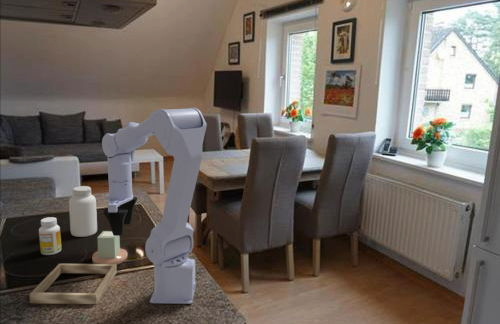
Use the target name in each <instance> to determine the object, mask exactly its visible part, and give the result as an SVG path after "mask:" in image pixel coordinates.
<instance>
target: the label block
mask: <svg viewBox="0 0 500 324" xmlns="http://www.w3.org/2000/svg"><path fill="white" fill-rule="evenodd" d="M120 237H121V236H114V235H113V233H112V230H111V231H110V230H102V232H101V233H100V234H99V235H98V236H97V238H96V240H97V251H98V258H116V256H117V255H118V254H119V252H120V248H121V244H120V241H121V240H120Z"/></svg>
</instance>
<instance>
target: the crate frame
mask: <svg viewBox="0 0 500 324" xmlns="http://www.w3.org/2000/svg"><path fill="white" fill-rule="evenodd" d="M117 265H118V264H117ZM117 265H116V264H94V263H58V264H57V265H56V267H54V269H52V270H51V271H50V272H49V274H47V276H46V277H45V278H44V279H43V280H42V281H40V282H39V284H38V285H37V286H36V287H35V288H34V289H33V290H32V291H30V293H29V304H54V305H55V304H59V305H61V304H62V305H66V304H68V305H97V304H98V303H99V301H100V300H101V298H102V296H103V295H104V293H105V291H106V290H107V289H108V287H109V286H110V284H111V282H112V281H113V279H114V277H115V276H116V274H117V272H118V271H117V267H118V266H117ZM62 274H101V275H102V274H104V275H105V276H104V277H103V279H102V280H101V282H100V284H99V285H98V287H97V288H96V289H95V291H94V292H46V291H47V289H49V288H50V286H51V285H52V284H53V283H54V282H55V281H56V280H57V279H58V277H60V275H62Z"/></svg>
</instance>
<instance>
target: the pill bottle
mask: <svg viewBox="0 0 500 324" xmlns="http://www.w3.org/2000/svg"><path fill="white" fill-rule="evenodd" d="M68 207H69V208H68V210H69V226H70V227H69V228H70V234H71V236H74V237H76V238H77V237H78V238H79V237H80V238H83V237H90V236H92V235H94V234H96V233H97V231H98V220H97V219H98V217H97V216H98V215H97V214H98V213H97V198H96V197H95V196H94V195H93V194H92V188H91V187H90V186H87V185H82V186H76V187H73V189H72V196H70V198H69V200H68Z"/></svg>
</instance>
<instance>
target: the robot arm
mask: <svg viewBox="0 0 500 324" xmlns="http://www.w3.org/2000/svg"><path fill="white" fill-rule="evenodd" d="M207 125H208V124H207V122H206V120H205V118H204V116H203V113H202V111H200V109H198V108H197V107H188V108H174V109H173V108H171V109H170V108H169V109H165V108H158V109H156V110H155V111H151V113H150V116H149V117H147V118H146V119H145V120H144V121H142V122H141V123H137V122H134V121H131V122H127V123H126V126H125V127H123V128H119V129H118V130H117V132H115V133H105V134H104V135H103V137H102V139H101V147H102V152H103V153H104V155H105V156H106V157H107V175H108V177H107V178H108V194H106V195H104V200H108V204H107V207H106V208H104V209H103V211H102V212H103V213H102V214H103V215H104V216H105V219H106V220H107V221H108V223H109V226H110V229H111V231H112V233H113V235H114V236H119V237H121V236H123V233H124V225H131V222H132V217H133V213H134V209H135V205H136V202H137V201H138V197H137V196H134V195H133V177H132V175H133V174H132V173H133V172H132V162H133V161H134V154H135V151H136V149H139V148H141V147H143V146H145V145H146V143H147V142H148V139H149V138H150V137H152V136H155V138H156V139H157V141H158V142H159V144H160V145H161V146H162V148H163V149H164V151H165V152H166V154H168V155H170V156H172V157H173V164H172V168H171V174H170V178H169V182H168V189H167V191H166V192H167V193H166V198H165V203H164V206H163V207H164V208H163V213H162V214H163V215H162V216H161V217H162V218H161V221H159V223H158V224H156V225H155V226H154V227H153V228H152V229H151V231H150V235H149V237H148V238H147V240H146V241H145V246H144V248H145V249H144V251H145V254H146V257H147V259H148V260H149V261H150V262H151V263H152V264H153V268H154V269H153V271H154V273H153V274H154V275H153V277H154V279H153V281H154V290H153V291H152V295H151V297H150V300H149V303H150V304H176V305H177V304H180V305H181V304H184V305H185V304H188V305H189V304H192V303H193V301H194V300H193V299H194V296H195V291H196V287H197V282H196V259H193V258H189V254H190V253H191V252H192V251H193V248H194V231H195V229H194V228H193V226H192V225H191V224H190V223H189V222H188V218H189V215H190V210H191V206H192V202H193V199H194V193H195V190H196V184H197V180H198V176H199V172H200V168H201V164H202V159H203V143H204V139H205V134H206V131H207Z"/></svg>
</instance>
